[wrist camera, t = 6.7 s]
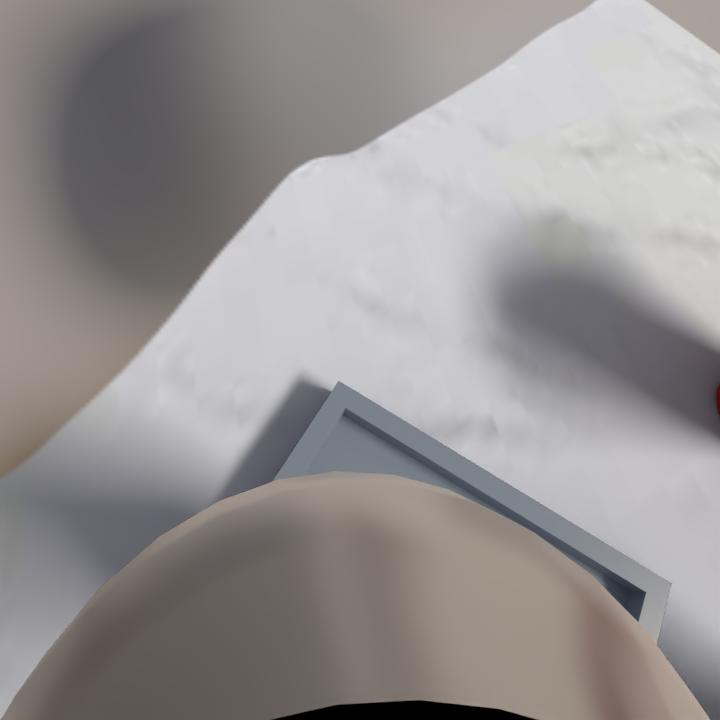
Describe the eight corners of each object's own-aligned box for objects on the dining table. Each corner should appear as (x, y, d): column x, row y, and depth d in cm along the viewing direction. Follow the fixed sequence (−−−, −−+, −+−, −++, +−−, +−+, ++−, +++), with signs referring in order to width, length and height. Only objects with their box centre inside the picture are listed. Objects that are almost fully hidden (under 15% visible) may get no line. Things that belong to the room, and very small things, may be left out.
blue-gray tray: (508, 1086, 16) (533, 1146, 14) (83, 776, 17) (62, 799, 16) (644, 581, 23) (671, 583, 22) (335, 392, 25) (338, 380, 23)
